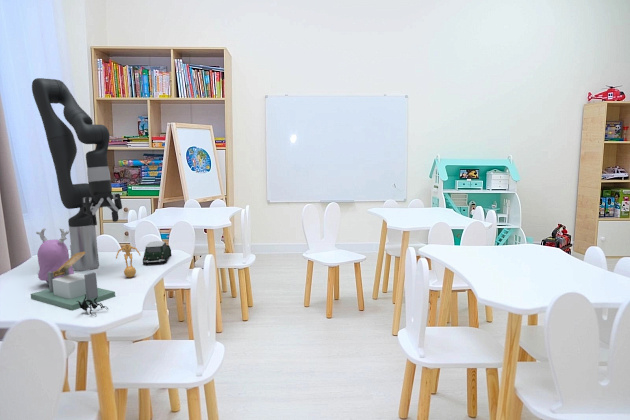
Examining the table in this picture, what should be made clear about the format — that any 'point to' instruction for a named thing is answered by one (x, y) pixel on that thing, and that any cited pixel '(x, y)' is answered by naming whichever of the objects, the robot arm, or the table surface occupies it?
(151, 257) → the miniature car
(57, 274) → the strap
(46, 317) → the table surface
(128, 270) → the figurine
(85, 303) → the creature
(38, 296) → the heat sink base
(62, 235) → the toy character
